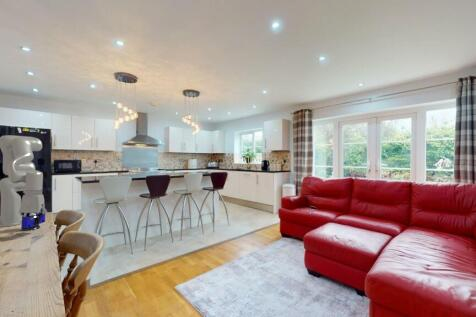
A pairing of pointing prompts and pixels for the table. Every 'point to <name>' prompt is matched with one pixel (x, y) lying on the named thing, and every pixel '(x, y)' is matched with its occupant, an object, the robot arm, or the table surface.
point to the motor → (32, 215)
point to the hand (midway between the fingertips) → (32, 223)
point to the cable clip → (31, 221)
